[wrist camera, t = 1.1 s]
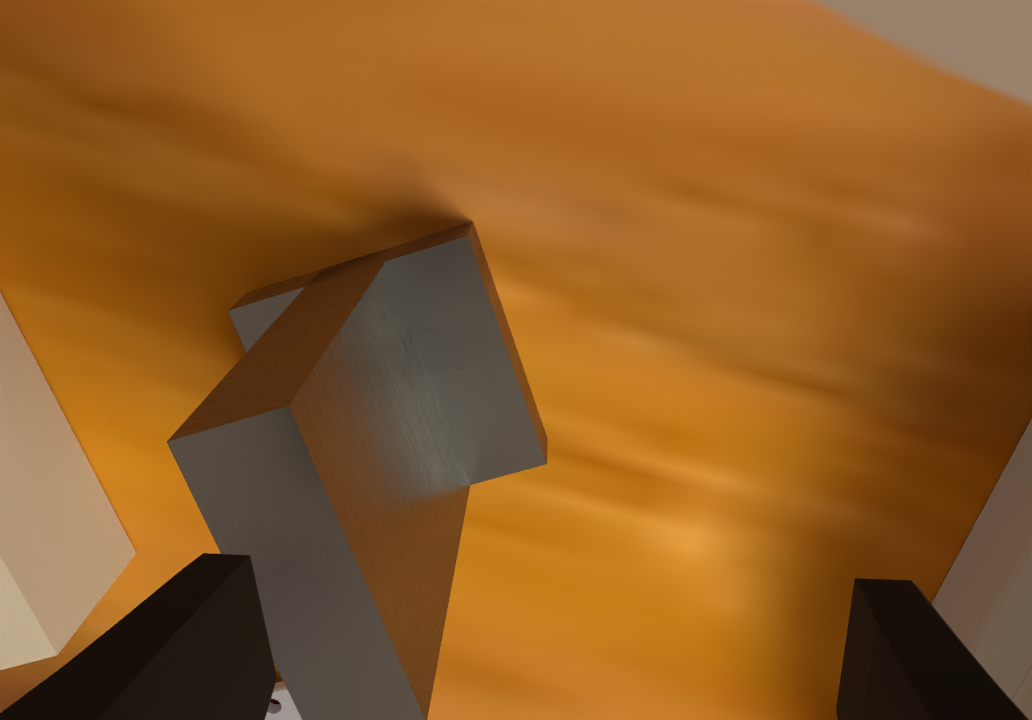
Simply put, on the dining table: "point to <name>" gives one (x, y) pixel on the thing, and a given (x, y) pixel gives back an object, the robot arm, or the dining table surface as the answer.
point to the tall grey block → (361, 462)
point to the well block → (46, 515)
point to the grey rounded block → (998, 582)
